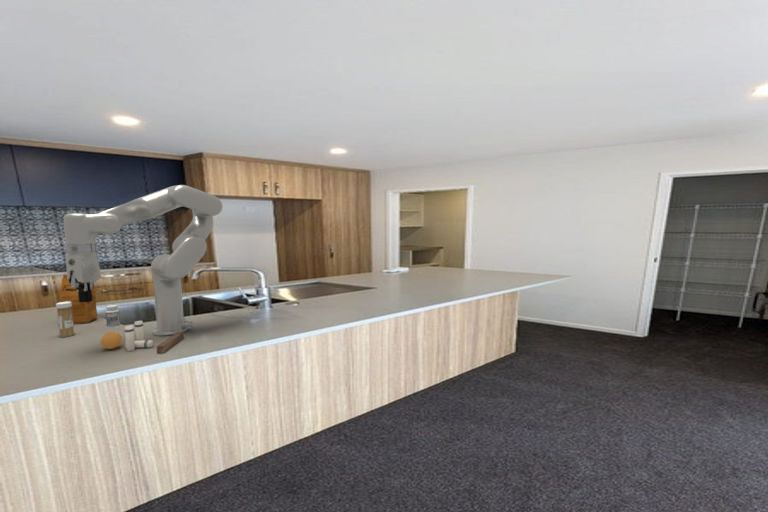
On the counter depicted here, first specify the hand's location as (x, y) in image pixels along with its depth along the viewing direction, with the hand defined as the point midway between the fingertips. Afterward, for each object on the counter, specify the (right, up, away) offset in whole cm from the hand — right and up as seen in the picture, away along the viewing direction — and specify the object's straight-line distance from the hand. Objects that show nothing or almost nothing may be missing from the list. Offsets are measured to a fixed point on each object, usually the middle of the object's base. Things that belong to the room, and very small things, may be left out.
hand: (85, 301), depth 125 cm
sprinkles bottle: (-22, -16, +17) cm, 32 cm away
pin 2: (+15, -16, +6) cm, 23 cm away
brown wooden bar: (+27, -16, +5) cm, 32 cm away
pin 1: (+15, -17, 0) cm, 23 cm away
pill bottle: (-15, -14, +32) cm, 38 cm away
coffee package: (-34, -14, +37) cm, 52 cm away
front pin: (+12, -16, +3) cm, 20 cm away
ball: (+8, -14, +2) cm, 16 cm away
